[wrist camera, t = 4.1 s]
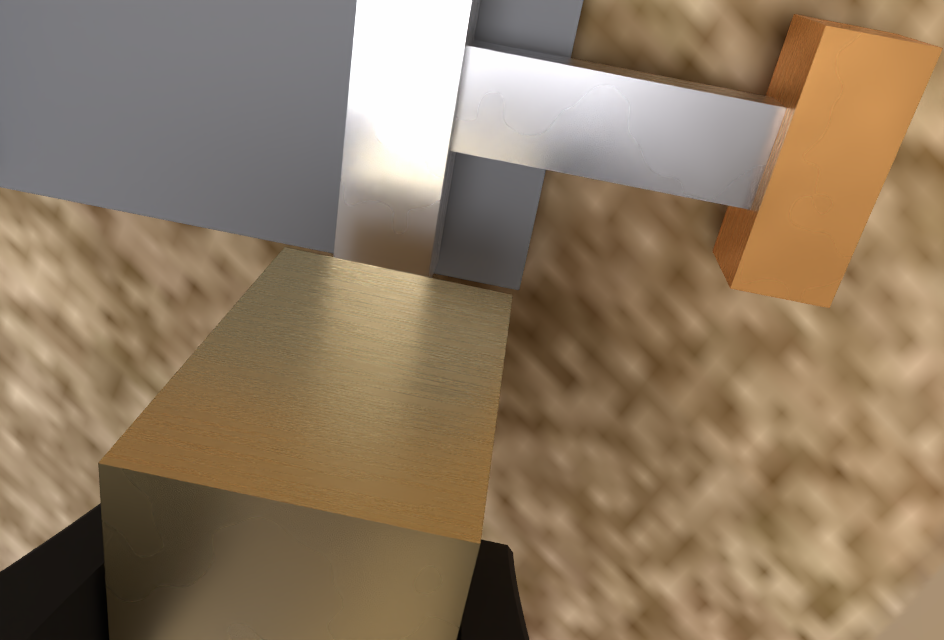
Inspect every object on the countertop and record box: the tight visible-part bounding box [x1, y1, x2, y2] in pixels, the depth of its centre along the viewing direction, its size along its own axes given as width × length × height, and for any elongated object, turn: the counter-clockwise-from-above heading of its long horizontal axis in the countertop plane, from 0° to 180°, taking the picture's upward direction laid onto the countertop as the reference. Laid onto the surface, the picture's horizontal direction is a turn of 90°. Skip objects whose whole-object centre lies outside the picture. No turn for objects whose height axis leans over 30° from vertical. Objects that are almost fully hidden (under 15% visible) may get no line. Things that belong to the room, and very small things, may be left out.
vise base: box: [0, 0, 583, 290], centre depth 16 cm, size 9×16×3 cm, turn 80°
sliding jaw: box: [334, 0, 943, 308], centre depth 15 cm, size 8×10×2 cm
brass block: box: [98, 247, 513, 640], centre depth 12 cm, size 6×4×6 cm, turn 170°
